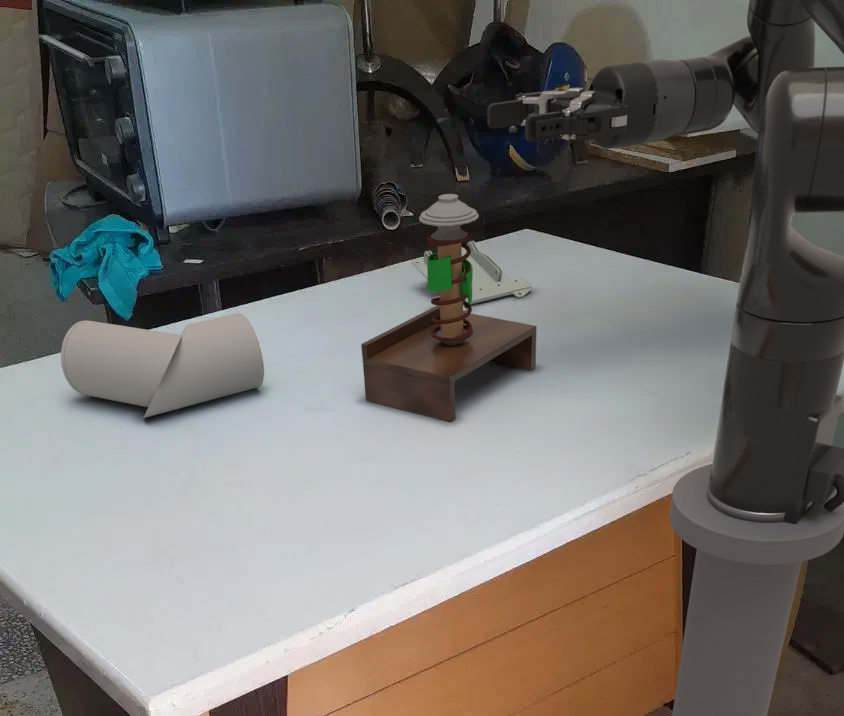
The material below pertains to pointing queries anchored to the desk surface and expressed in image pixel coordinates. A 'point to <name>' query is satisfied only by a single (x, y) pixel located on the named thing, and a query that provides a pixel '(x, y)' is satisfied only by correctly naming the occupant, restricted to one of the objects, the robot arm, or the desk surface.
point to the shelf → (439, 361)
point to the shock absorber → (450, 267)
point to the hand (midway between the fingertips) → (507, 122)
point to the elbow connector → (163, 362)
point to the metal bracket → (484, 277)
